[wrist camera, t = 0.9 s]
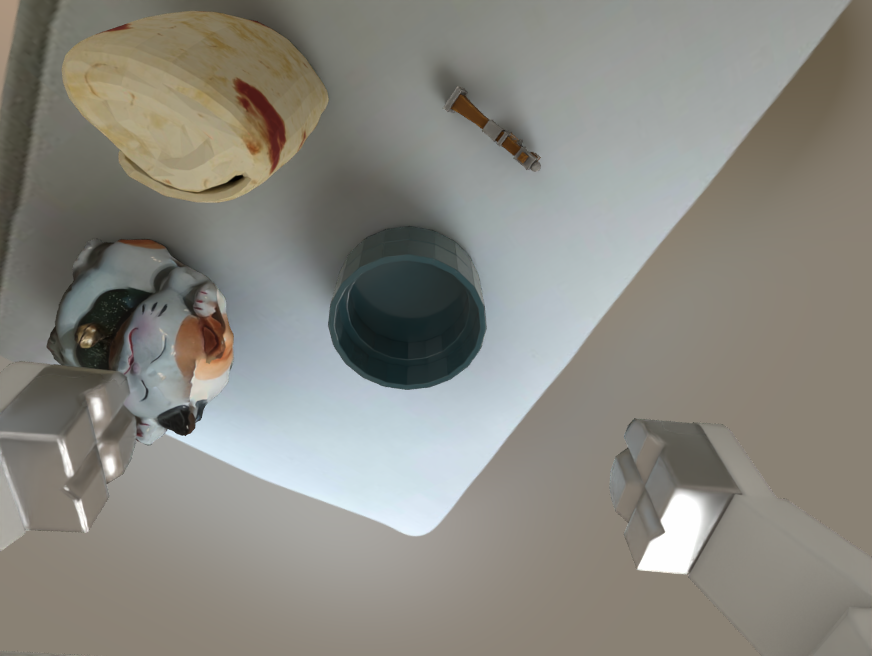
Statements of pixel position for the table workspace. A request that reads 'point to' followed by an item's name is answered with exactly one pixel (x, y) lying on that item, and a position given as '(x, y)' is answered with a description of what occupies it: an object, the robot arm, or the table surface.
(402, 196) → the table surface
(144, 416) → the lucky cat figurine
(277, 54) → the food model
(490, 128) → the wooden post with brackets
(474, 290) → the teal round bowl
